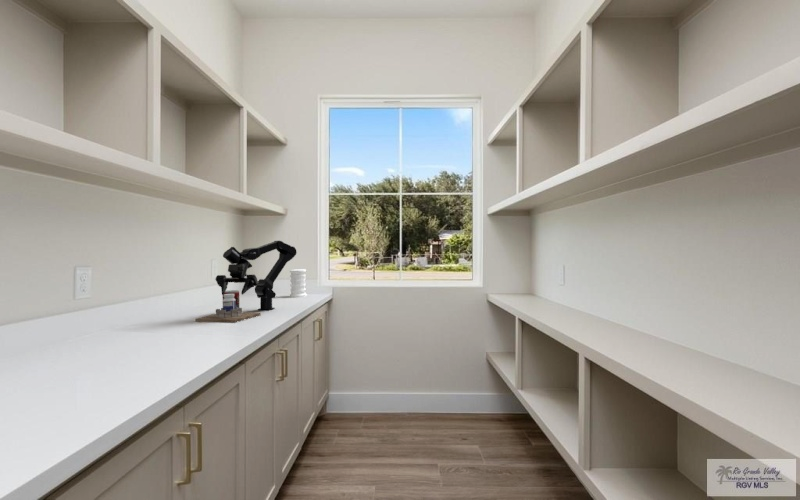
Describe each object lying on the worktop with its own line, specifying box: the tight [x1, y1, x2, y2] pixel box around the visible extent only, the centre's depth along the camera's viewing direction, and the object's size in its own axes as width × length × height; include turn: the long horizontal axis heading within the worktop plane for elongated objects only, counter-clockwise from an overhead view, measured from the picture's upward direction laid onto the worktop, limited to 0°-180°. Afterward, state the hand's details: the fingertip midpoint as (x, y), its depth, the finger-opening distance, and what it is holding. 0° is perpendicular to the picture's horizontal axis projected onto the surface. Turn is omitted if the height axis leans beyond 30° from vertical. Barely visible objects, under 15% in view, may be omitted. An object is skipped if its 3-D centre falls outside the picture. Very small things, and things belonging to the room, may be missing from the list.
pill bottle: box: [222, 294, 236, 312], centre depth 194 cm, size 6×6×10 cm
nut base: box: [194, 306, 261, 323], centre depth 194 cm, size 20×20×4 cm
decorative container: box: [289, 269, 308, 298], centre depth 286 cm, size 12×12×18 cm
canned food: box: [222, 289, 240, 308], centre depth 212 cm, size 8×8×11 cm
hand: (232, 294), depth 197 cm, fingers open, 9 cm apart
